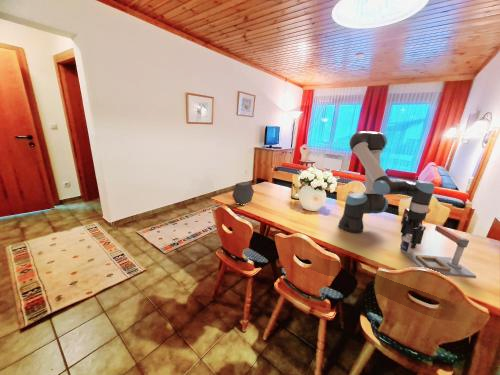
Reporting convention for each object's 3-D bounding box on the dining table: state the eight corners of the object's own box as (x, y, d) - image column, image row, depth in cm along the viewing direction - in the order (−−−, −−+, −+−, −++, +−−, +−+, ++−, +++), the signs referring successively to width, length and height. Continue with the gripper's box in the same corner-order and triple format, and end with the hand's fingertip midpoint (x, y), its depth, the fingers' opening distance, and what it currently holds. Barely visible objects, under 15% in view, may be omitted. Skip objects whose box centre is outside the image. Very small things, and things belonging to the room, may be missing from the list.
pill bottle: (397, 248, 116) (401, 232, 113) (406, 248, 117) (410, 232, 114) (405, 254, 111) (410, 237, 108) (414, 254, 111) (419, 237, 109)
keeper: (460, 247, 97) (463, 241, 96) (433, 230, 114) (435, 224, 113) (469, 247, 97) (471, 241, 96) (440, 230, 113) (442, 225, 112)
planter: (248, 193, 184) (241, 176, 171) (255, 195, 180) (248, 178, 166) (238, 207, 176) (229, 191, 162) (245, 210, 171) (237, 193, 158)
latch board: (425, 272, 97) (432, 250, 94) (406, 254, 110) (412, 235, 107) (475, 277, 95) (484, 255, 92) (450, 258, 109) (457, 239, 105)
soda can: (415, 227, 144) (420, 211, 140) (403, 226, 145) (408, 210, 142) (409, 223, 150) (414, 208, 147) (398, 222, 152) (402, 206, 148)
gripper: (439, 218, 98) (425, 260, 104) (413, 205, 116) (403, 241, 122) (422, 217, 99) (410, 259, 105) (399, 204, 116) (389, 240, 123)
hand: (406, 249), depth 114 cm, fingers closed on pill bottle, 5 cm apart
